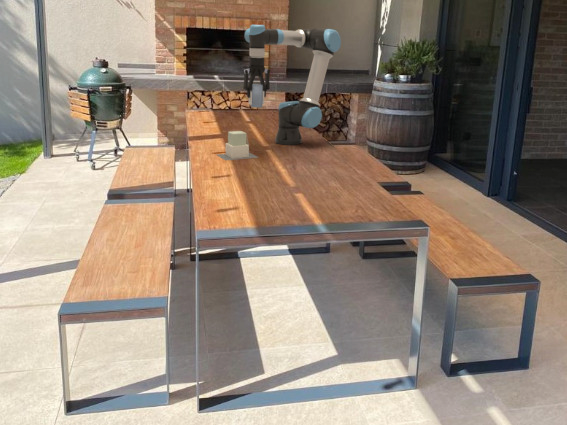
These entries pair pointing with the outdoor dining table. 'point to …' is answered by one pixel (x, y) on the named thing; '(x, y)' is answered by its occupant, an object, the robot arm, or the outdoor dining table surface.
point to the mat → (235, 158)
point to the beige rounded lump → (246, 138)
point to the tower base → (237, 151)
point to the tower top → (236, 138)
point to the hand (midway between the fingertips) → (256, 103)
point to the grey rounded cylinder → (257, 95)
